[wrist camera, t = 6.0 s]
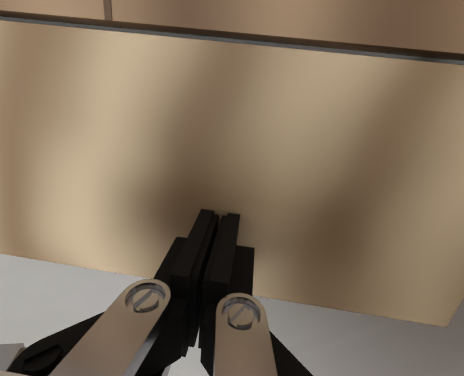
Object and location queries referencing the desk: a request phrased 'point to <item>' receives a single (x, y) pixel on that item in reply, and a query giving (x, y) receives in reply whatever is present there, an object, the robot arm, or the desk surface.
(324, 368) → the desk surface
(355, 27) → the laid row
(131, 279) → the desk surface
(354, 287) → the board
